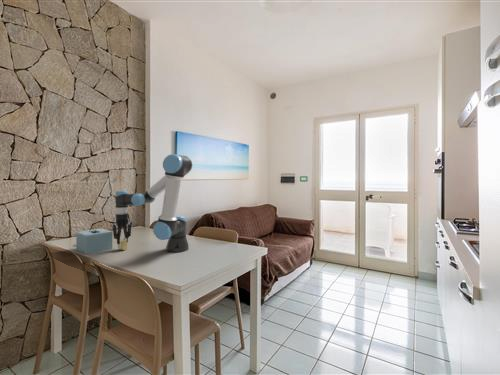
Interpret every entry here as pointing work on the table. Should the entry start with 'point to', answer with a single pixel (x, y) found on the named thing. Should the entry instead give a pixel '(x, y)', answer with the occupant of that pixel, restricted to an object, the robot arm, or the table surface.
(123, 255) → the table surface
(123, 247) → the yellow rectangular block
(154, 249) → the table surface
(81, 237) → the box
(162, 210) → the robot arm
